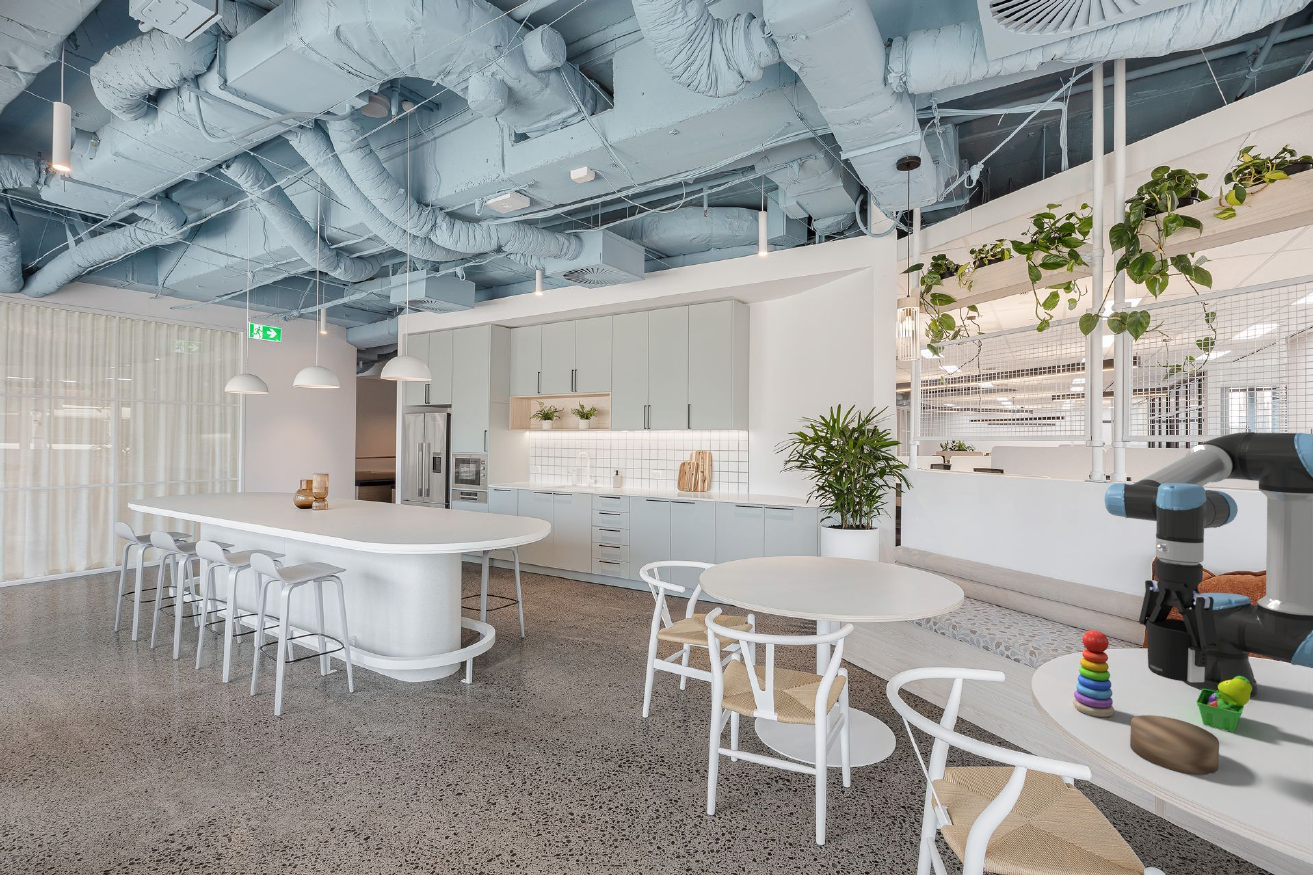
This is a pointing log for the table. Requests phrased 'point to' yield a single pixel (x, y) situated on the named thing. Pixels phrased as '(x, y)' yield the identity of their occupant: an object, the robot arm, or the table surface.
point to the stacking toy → (1094, 677)
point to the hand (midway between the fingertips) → (1175, 671)
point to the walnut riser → (1174, 744)
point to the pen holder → (1168, 649)
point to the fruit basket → (1224, 703)
